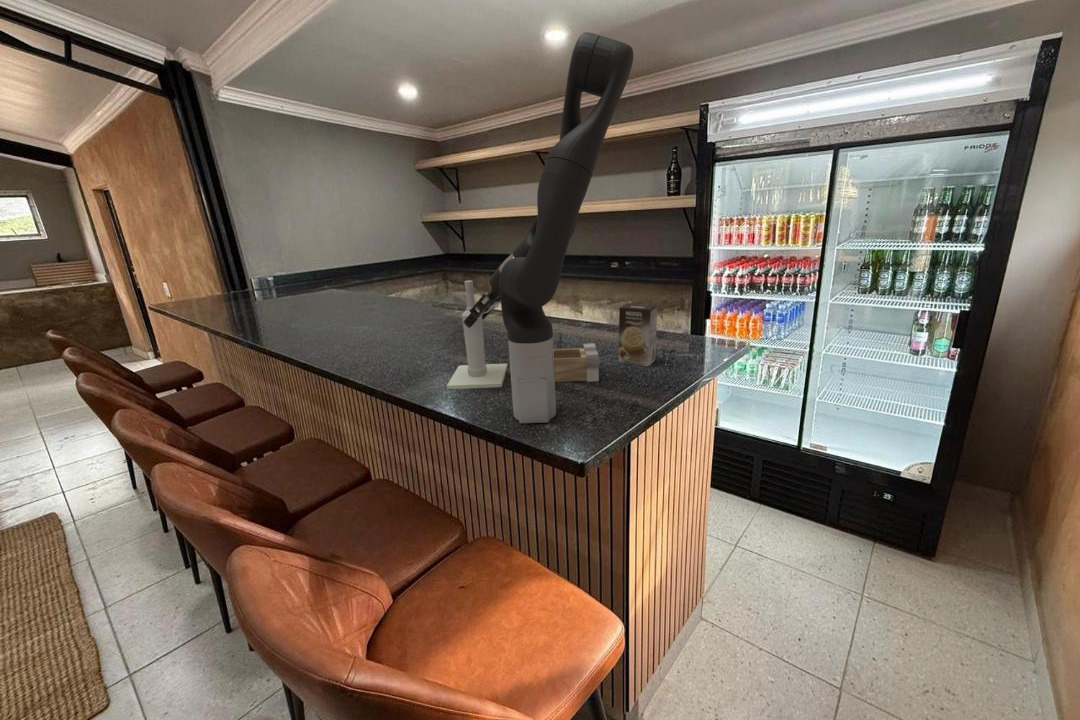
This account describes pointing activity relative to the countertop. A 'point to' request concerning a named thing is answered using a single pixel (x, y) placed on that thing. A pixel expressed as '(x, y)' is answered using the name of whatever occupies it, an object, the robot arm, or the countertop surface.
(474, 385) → the sage board
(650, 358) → the coffee box
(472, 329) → the bottle
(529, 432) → the countertop surface
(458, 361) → the countertop surface
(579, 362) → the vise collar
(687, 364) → the countertop surface
